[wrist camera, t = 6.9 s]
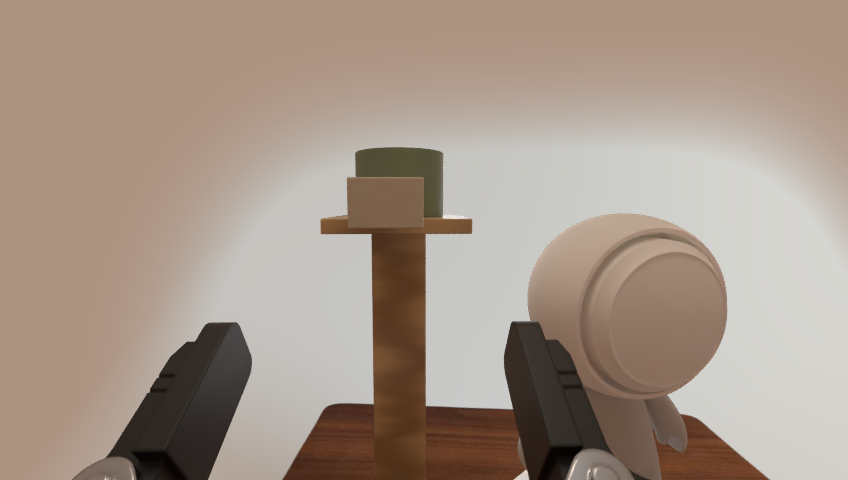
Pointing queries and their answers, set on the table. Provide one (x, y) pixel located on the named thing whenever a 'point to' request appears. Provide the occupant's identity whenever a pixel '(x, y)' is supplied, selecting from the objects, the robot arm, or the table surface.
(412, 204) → the green headed mallet
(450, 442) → the table surface
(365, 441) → the table surface
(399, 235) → the stand
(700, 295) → the big headed doll
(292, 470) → the table surface
